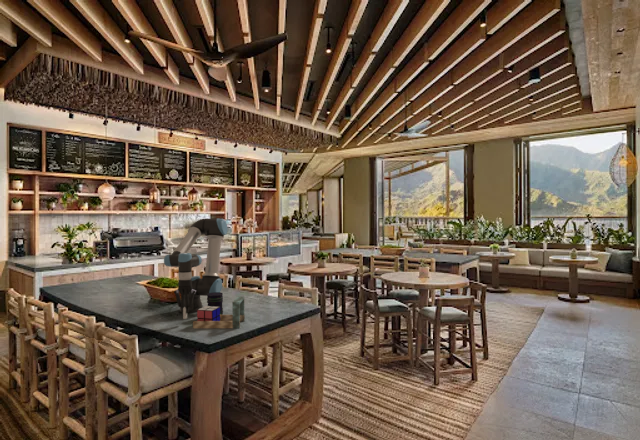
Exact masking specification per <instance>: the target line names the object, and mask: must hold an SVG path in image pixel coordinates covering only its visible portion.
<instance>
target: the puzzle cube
mask: <svg viewBox="0 0 640 440" xmlns="http://www.w3.org/2000/svg"><path fill="white" fill-rule="evenodd" d="M196 317H197V318H196V319H197V320H196V321H220V307H214V306H213V307H212V306H208V305H205V306H203V307H202V308H200V309H198V310H197V312H196Z"/></svg>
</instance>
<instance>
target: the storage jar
mask: <svg viewBox="0 0 640 440" xmlns="http://www.w3.org/2000/svg"><path fill="white" fill-rule="evenodd" d="M206 297H207V299H206V300H207V301H206V303H207V306H212V307H213V306H214V307H220V315H224V309H223V302H224V296H223V292H221V291H220V292H213V293H208V294H207V296H206Z"/></svg>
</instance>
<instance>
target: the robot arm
mask: <svg viewBox="0 0 640 440" xmlns="http://www.w3.org/2000/svg"><path fill="white" fill-rule="evenodd" d="M185 234H186V235H184V237H183V238H182V240H180V243H179V244H178V245H177V246H176V248H175V249H174V250H173V252H172V253H171V254H166V255H165V256H164V257H163V264H164V266H166V267H168V268H169V267H170V268H178V273H177V274H178V276H177V277H178V282H177V283H178V287H177V289H176V290H174V291H173V293H174V295H175V298H176V301H177V306H178V307H179V312H180V313H181V314H182V318H183V320H187V319H188V314H189V313H190V314H192V313H197V310H198V309H200V308H202V307H204V306H203V302H202V300H201V296H205V297H207V294H208V293H213V292H220V293H221V291H222V289H223V280H222V278H221V277H220V274H219V266H220V265H219V264H220V258H221V257H220V256H221V255H220V254H221V246H222V245H221V244H222V240H223V239H224V238H225V237H224V236H225V235H227V234H228V223H227V221H226V220H225V219H224V218H219V217H218V218H206V217H205V218H201V219H199V220H196V221H195V222H193V223H192V224H191V225H190V226H189V228H188V230H187V232H186V233H185ZM204 235H205V236H206V238H207V239H208V240H207V241H208V243H207V251H206V252H207V253H206V260H205V261H206V262H205V270H204V274H202V278H201V276H200V275H193V274H192V272H193V271H192V270H193V268H197V267H198V266H200V265H201V264H202V261H203V258H202V257H201V255H199V254H192V253H191V252H189V251H190V249H191V248H192V247H193V245H194V244H195V243H196V241H197V239H200V238H201V237H202V236H204Z"/></svg>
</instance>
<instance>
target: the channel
mask: <svg viewBox="0 0 640 440" xmlns="http://www.w3.org/2000/svg"><path fill="white" fill-rule="evenodd" d="M231 305H232V314H223V315H220V321H197V320H194V321H192V329H241V322H245V296H237V297H236V298H235V299H234V300H233V301H232V304H231Z"/></svg>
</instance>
